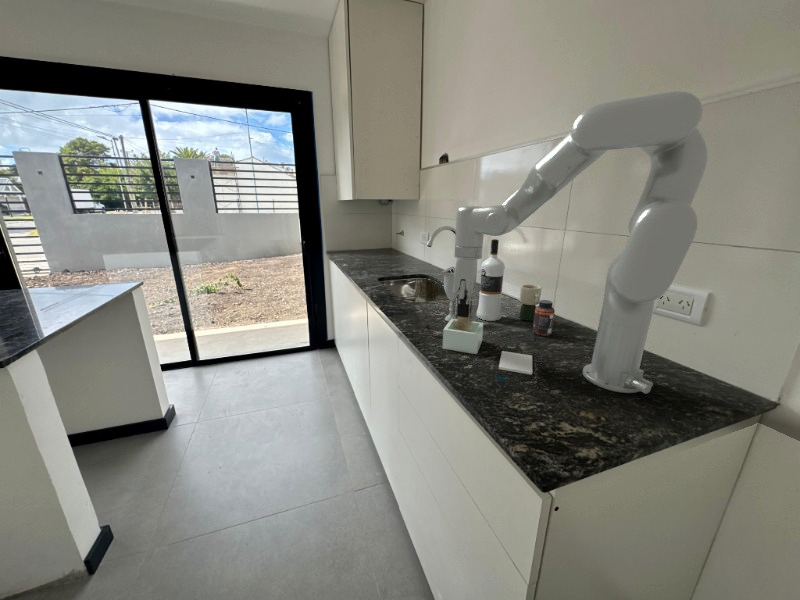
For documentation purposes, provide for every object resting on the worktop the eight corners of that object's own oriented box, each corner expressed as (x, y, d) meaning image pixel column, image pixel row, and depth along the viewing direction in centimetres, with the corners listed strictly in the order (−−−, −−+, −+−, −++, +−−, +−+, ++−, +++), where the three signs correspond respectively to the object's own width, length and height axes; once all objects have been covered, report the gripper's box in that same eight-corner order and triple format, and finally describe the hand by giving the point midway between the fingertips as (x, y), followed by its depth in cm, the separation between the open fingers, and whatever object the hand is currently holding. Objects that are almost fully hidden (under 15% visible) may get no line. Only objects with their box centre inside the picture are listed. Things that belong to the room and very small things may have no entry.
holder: (481, 343, 98) (483, 322, 96) (476, 357, 89) (478, 334, 88) (450, 339, 102) (451, 318, 100) (442, 351, 93) (443, 329, 91)
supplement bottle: (554, 336, 104) (559, 304, 100) (536, 336, 104) (540, 304, 101) (547, 330, 109) (551, 298, 106) (529, 330, 109) (533, 298, 106)
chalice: (437, 319, 119) (439, 273, 114) (452, 317, 122) (454, 271, 117) (448, 326, 113) (450, 277, 108) (463, 323, 116) (466, 275, 111)
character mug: (544, 324, 115) (548, 289, 111) (526, 325, 114) (530, 290, 110) (528, 314, 125) (532, 282, 122) (511, 315, 124) (515, 283, 121)
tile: (532, 355, 87) (532, 372, 78) (531, 362, 87) (531, 380, 79) (502, 351, 90) (498, 366, 81) (501, 357, 90) (498, 374, 81)
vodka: (505, 321, 118) (513, 240, 110) (481, 322, 117) (487, 240, 108) (494, 313, 127) (501, 238, 118) (472, 314, 126) (478, 238, 117)
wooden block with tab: (471, 335, 95) (475, 291, 91) (469, 339, 93) (473, 293, 89) (455, 333, 97) (458, 289, 93) (452, 336, 94) (455, 291, 90)
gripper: (460, 248, 96) (457, 305, 101) (447, 255, 82) (444, 321, 87) (486, 249, 94) (481, 308, 99) (477, 257, 79) (472, 325, 84)
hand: (464, 314), depth 93 cm, fingers closed on wooden block with tab, 3 cm apart
